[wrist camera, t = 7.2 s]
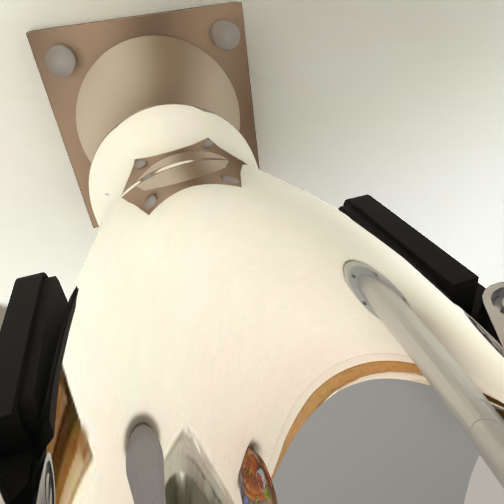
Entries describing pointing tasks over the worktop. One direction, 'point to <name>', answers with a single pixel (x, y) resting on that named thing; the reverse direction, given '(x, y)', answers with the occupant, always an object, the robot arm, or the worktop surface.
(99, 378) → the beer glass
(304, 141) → the worktop surface
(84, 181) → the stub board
